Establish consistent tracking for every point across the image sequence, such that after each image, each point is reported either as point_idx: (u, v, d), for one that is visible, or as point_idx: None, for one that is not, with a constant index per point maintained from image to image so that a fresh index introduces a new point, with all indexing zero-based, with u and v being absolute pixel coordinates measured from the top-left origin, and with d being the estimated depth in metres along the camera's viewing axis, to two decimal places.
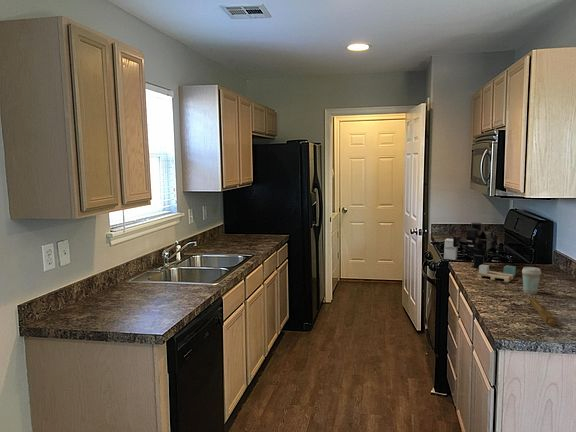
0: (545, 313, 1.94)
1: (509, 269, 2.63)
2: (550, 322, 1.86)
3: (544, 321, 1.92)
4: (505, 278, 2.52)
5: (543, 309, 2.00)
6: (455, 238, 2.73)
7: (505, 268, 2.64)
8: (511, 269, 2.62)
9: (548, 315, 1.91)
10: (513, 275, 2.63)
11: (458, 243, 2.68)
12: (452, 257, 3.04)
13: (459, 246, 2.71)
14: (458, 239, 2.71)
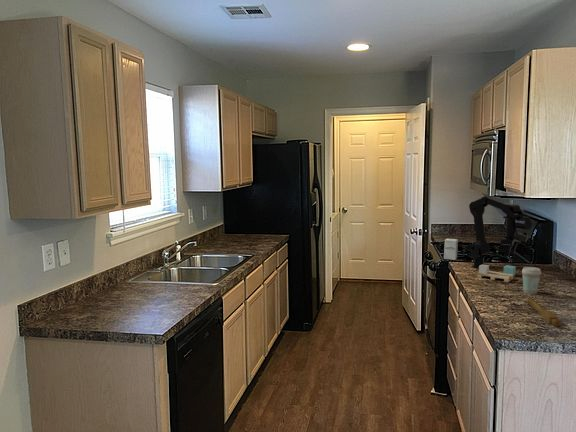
0: (547, 313, 1.93)
1: (509, 269, 2.63)
2: (554, 322, 1.86)
3: (547, 321, 1.92)
4: (505, 278, 2.52)
5: (543, 309, 2.01)
6: (510, 246, 2.56)
7: (505, 268, 2.64)
8: (511, 269, 2.62)
9: (551, 315, 1.91)
10: (513, 275, 2.63)
11: None
12: (452, 257, 3.04)
13: None
14: (511, 246, 2.58)
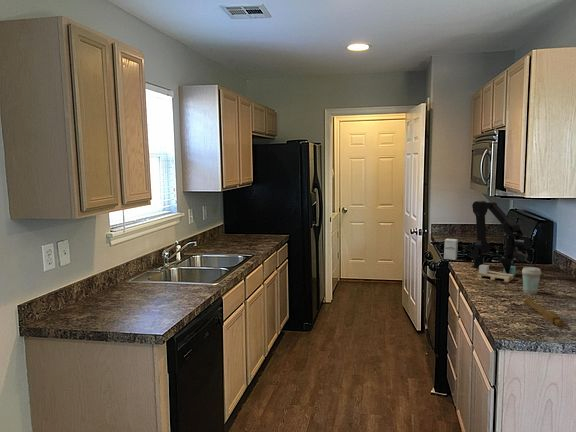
0: (549, 313, 1.93)
1: None
2: (558, 322, 1.86)
3: (549, 321, 1.91)
4: (505, 278, 2.52)
5: (543, 309, 2.01)
6: (511, 264, 2.59)
7: None
8: (511, 269, 2.62)
9: (553, 315, 1.91)
10: (513, 275, 2.63)
11: None
12: (452, 257, 3.04)
13: None
14: (511, 265, 2.60)
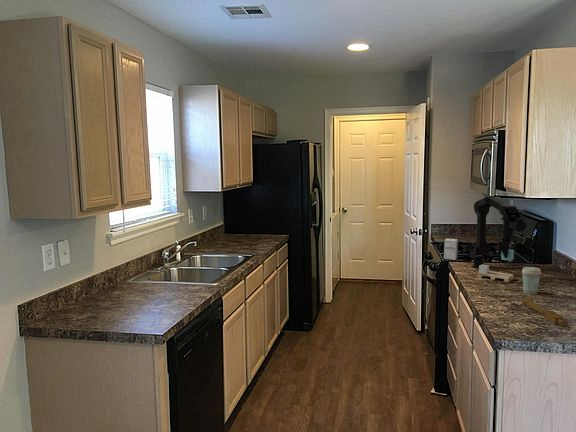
0: (551, 313, 1.93)
1: None
2: (561, 322, 1.86)
3: (552, 321, 1.91)
4: (505, 278, 2.52)
5: None
6: (509, 247, 2.52)
7: None
8: (509, 252, 2.55)
9: (555, 315, 1.91)
10: (511, 259, 2.56)
11: None
12: (452, 257, 3.04)
13: None
14: (509, 248, 2.53)
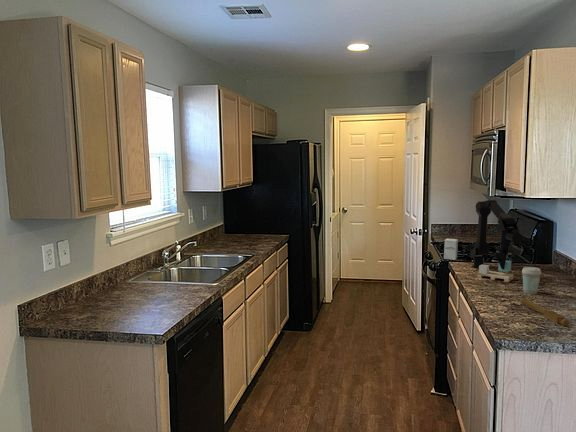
0: (552, 313, 1.93)
1: None
2: (564, 322, 1.86)
3: (553, 321, 1.91)
4: (505, 278, 2.52)
5: (544, 309, 2.01)
6: (506, 259, 2.51)
7: None
8: (506, 264, 2.54)
9: (557, 315, 1.91)
10: (508, 270, 2.55)
11: None
12: (452, 257, 3.04)
13: None
14: (506, 259, 2.53)
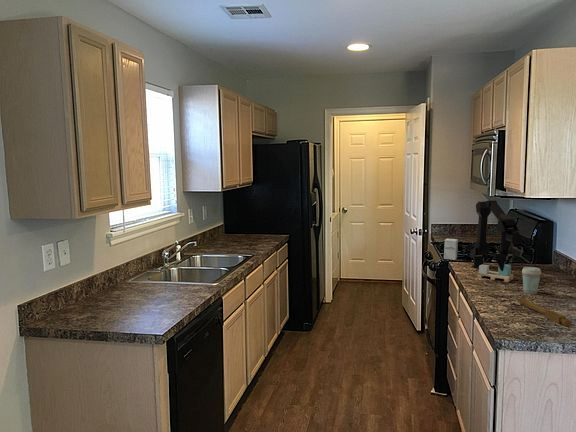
0: (553, 313, 1.93)
1: (504, 268, 2.55)
2: (566, 322, 1.86)
3: (554, 321, 1.91)
4: (505, 278, 2.52)
5: (544, 309, 2.01)
6: (505, 260, 2.50)
7: None
8: (506, 268, 2.54)
9: (558, 315, 1.91)
10: (508, 274, 2.56)
11: None
12: (452, 257, 3.04)
13: None
14: (505, 261, 2.52)
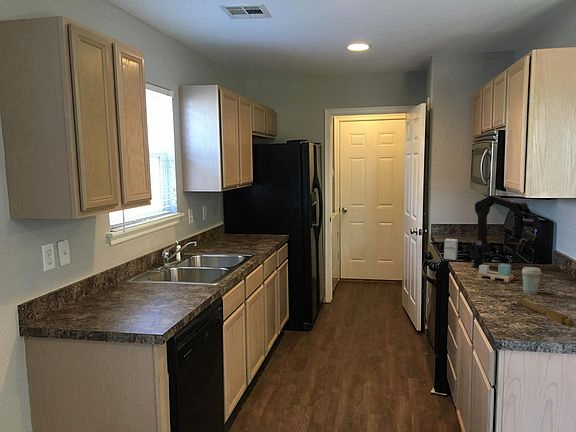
0: (555, 313, 1.94)
1: (504, 268, 2.55)
2: (569, 322, 1.86)
3: (557, 321, 1.91)
4: (505, 278, 2.52)
5: (543, 309, 2.01)
6: (518, 244, 2.52)
7: (500, 266, 2.56)
8: (506, 268, 2.54)
9: (560, 315, 1.91)
10: (508, 274, 2.56)
11: None
12: (452, 257, 3.04)
13: None
14: (519, 245, 2.54)
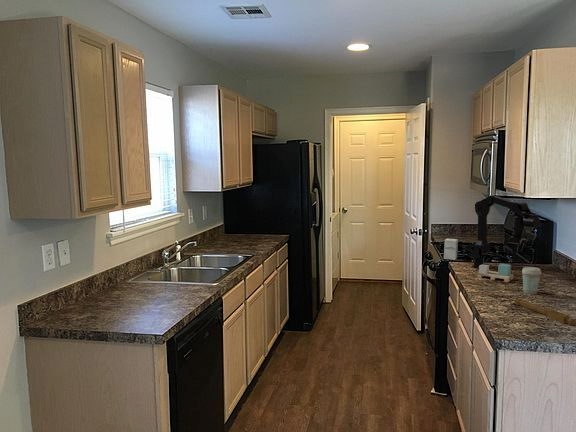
0: (556, 313, 1.94)
1: (504, 268, 2.55)
2: (571, 322, 1.87)
3: (559, 321, 1.92)
4: (505, 278, 2.52)
5: None
6: (518, 244, 2.52)
7: (500, 266, 2.56)
8: (506, 268, 2.54)
9: (562, 314, 1.92)
10: (508, 274, 2.56)
11: (516, 250, 2.56)
12: (452, 257, 3.04)
13: None
14: (519, 245, 2.54)
